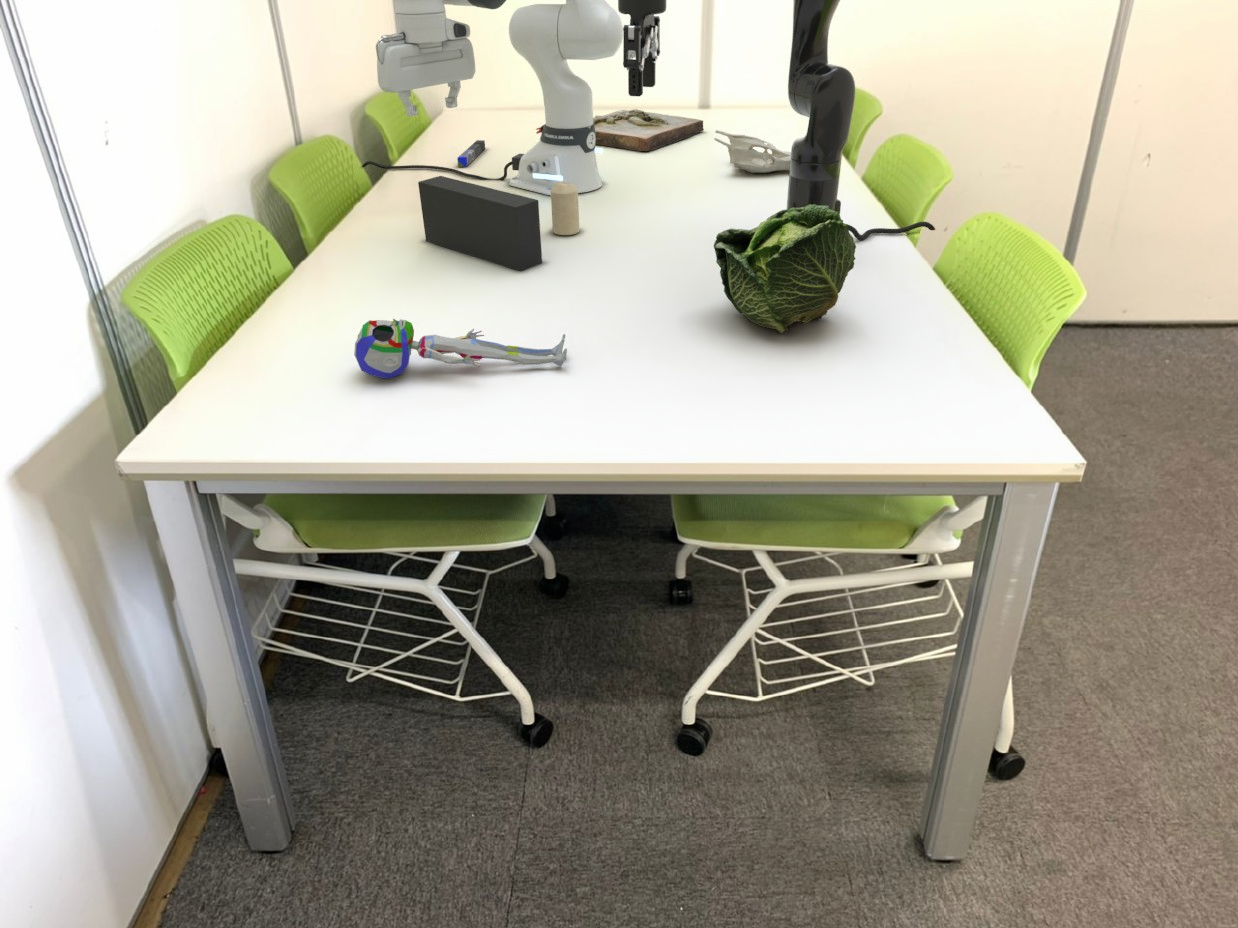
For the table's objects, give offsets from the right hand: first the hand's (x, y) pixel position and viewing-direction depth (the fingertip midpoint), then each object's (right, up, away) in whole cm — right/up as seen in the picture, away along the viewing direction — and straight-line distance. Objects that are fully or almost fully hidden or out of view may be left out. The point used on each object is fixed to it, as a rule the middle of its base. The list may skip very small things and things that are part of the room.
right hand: (642, 91), depth 146 cm
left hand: (-39, +5, +22) cm, 45 cm away
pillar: (-43, +21, +94) cm, 105 cm away
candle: (-15, -13, +39) cm, 44 cm away
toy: (-27, -47, -14) cm, 56 cm away
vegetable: (+22, -38, -1) cm, 44 cm away
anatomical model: (+32, +13, +78) cm, 85 cm away
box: (-31, -19, +29) cm, 47 cm away
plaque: (+1, +34, +113) cm, 118 cm away
